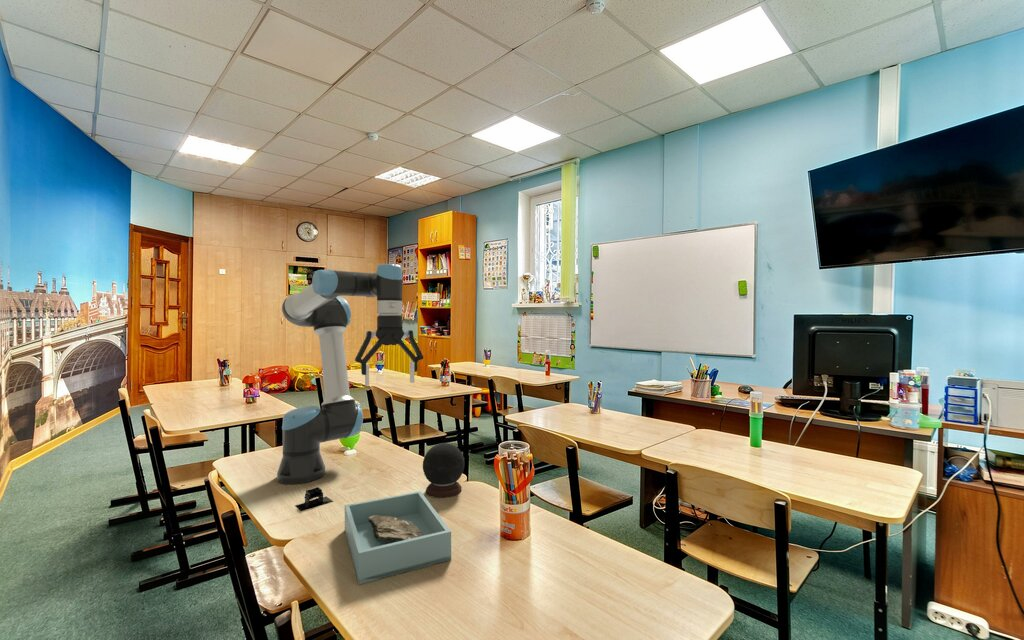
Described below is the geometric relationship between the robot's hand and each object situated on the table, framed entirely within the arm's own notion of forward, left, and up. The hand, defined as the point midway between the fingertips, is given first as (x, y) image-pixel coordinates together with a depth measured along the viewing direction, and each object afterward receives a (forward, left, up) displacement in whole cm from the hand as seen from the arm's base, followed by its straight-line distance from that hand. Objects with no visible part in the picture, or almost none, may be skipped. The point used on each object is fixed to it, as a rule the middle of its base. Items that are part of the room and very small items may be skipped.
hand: (390, 384), depth 134 cm
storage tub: (+29, -5, -35) cm, 45 cm away
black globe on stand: (+3, +16, -35) cm, 39 cm away
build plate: (-6, -21, -36) cm, 42 cm away
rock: (+28, -4, -34) cm, 44 cm away
